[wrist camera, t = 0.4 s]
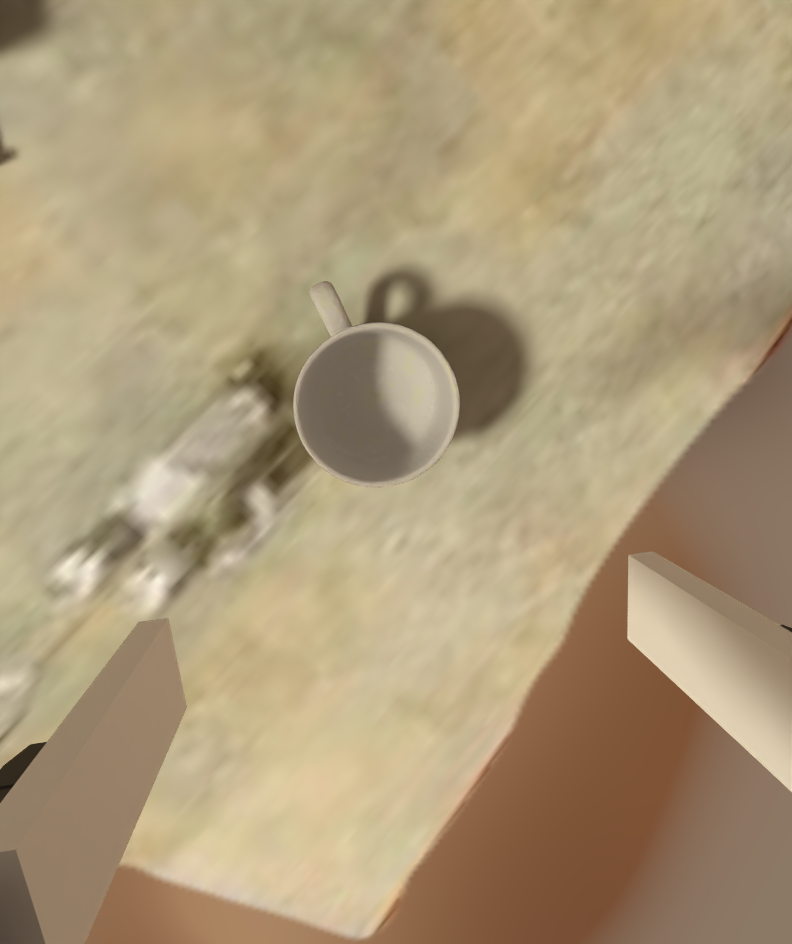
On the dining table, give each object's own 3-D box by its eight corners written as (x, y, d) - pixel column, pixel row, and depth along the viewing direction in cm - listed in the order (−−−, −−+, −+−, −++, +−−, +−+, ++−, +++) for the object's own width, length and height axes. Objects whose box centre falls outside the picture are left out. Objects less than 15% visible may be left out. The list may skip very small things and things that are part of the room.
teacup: (449, 446, 41) (476, 464, 34) (322, 481, 41) (320, 508, 33) (409, 273, 38) (427, 248, 31) (270, 308, 38) (254, 292, 30)
